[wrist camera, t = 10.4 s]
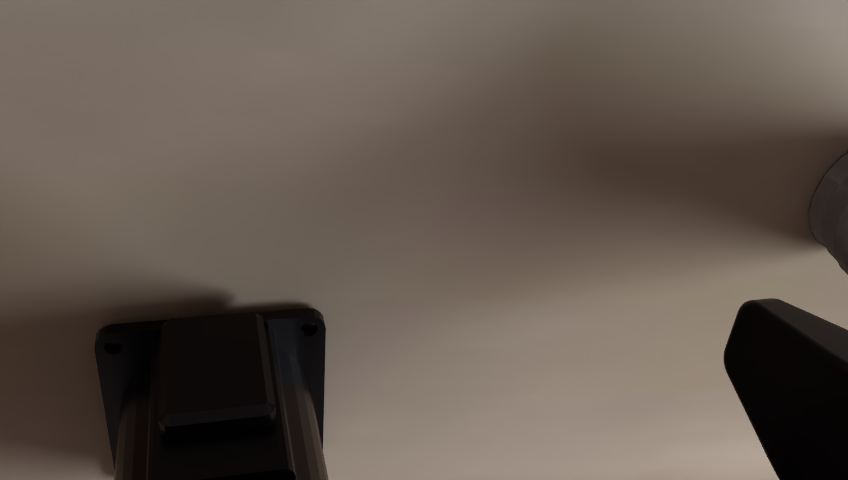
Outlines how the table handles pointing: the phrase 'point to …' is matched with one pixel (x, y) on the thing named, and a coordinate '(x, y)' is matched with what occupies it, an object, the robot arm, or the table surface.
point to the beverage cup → (832, 212)
